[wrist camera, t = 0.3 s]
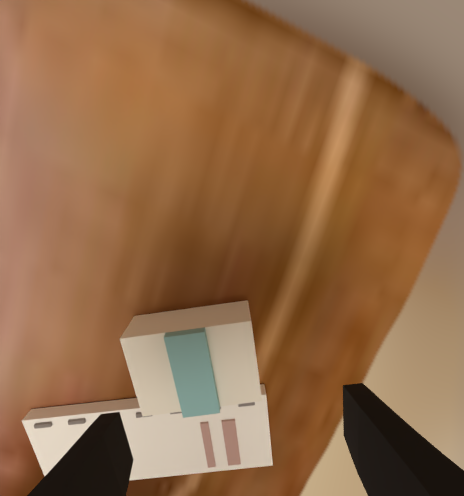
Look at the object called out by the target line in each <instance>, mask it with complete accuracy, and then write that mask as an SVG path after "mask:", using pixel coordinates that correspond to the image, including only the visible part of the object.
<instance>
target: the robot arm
mask: <svg viewBox="0 0 464 496" xmlns="http://www.w3.org/2000/svg"><path fill="white" fill-rule="evenodd" d="M343 418H344V437H345V440H346V443H347V445H348V448H349V451H350V454H351V457H352V459H353V462H354V464H355V467H356V469H357V472H358V475H359V477H360V479H361V481H362V483H363V486H364V488H365V490H366V492H367V494H368V496H464V470H462V469H461V468H460V467H458V466H457V465H456V464H455V463H453V462H452V461H451V460H450V459H449V458H447V457H446V456H445V455H444V454H442V453H441V452H440V451H439V450H438V449H437V448H435V447H434V446H433V445H432V444H430V443H429V442H428V441H427V440H426V439H425V438H424V437H422V436H421V435H420V434H419V433H417V432H416V431H415V430H414V429H413V428H412V427H411V426H410V425H408V424H407V423H406V422H405V421H404V420H403V419H402V418H400V417H399V416H398V415H397V414H396V413H395V412H394V411H393V410H392V409H390V408H389V407H388V406H387V405H386V404H385V403H384V402H383V401H382V400H380V399H379V398H378V397H377V396H376V395H375V394H374V393H373V392H372V391H371V390H370V389H368V388H367V387H366V386H365V385H364V384H363V383H359V384H351V385H343ZM133 460H134V459H133V456H132V453H131V449H130V446H129V442H128V439H127V436H126V432H125V429H124V426H123V422H122V419H121V415H120V412H114V413H105V414H100V415H99V417H98V418H97V419H96V420H95V421H94V422H93V423H92V424H91V425H90V426H89V428H88V429H87V430H86V431H85V432H84V433H83V434H82V436H81V437H80V438H79V439H78V440H77V441H76V442H75V443H74V445H73V446H72V447H71V448H70V449H69V450H68V451H67V453H66V454H65V455H64V456H63V457H62V458H61V459H60V460H59V461H58V463H57V464H56V465H55V466H54V467H53V468H52V469H51V470H50V471H49V473H48V474H47V475H46V476H45V477H44V478H43V479H42V480H41V481H40V483H39V484H38V485H37V486H36V487H35V488H34V489H33V490H32V491H31V492H30V493H29V494H28V495H27V496H126V492H127V488H128V484H129V479H130V474H131V469H132V465H133Z"/></svg>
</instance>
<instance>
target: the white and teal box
mask: <svg viewBox="0 0 464 496" xmlns="http://www.w3.org/2000/svg"><path fill="white" fill-rule="evenodd" d="M120 342H121V345H122V349H123V352H124V355H125V359H126V362H127V366H128V369H129V372H130V376H131V379H132V383H133V386H134V389H135V393H136V396H137V399H138V403H139V406H140V410H141V413H142V416H143V417H144V416H151V415H159V414H167V413H174V412H182V415H183V418H186V417H194V416H201V415H209V414H217V413H220V406H228V405H236V404H243V403H251V402H259V401H262V395H261V388H260V381H259V373H258V366H257V359H256V352H255V344H254V337H253V330H252V322H251V316H250V310H249V304H248V300H246V301H239V302H232V303H224V304H217V305H210V306H203V307H195V308H188V309H181V310H174V311H166V312H159V313H152V314H145V315H137V316H134V317H133V319H132V320H131V322H130V323H129V325H128V327H127V328H126V330H125V331H124V333H123V334H122V336H121V338H120Z"/></svg>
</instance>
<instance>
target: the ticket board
mask: <svg viewBox="0 0 464 496" xmlns="http://www.w3.org/2000/svg"><path fill="white" fill-rule="evenodd" d="M260 388H261V395H262V401H259V402H251V403H243V404H236V405H228V406H220V413H217V414H209V415H201V416H194V417H186V418H183V415H182V412H174V413H167V414H159V415H151V416H144V417H143V416H142V413H141V410H140V406H139V403H138V399H137V398H130V399H121V400H112V401H102V402H93V403H84V404H74V405H65V406H56V407H46V408H37V409H31V410H30V411H29V413H28V414H27V415H26V416H25V417H24V419H23V420H22V422H23V425H24V427H25V430H26V432H27V434H28V437H29V439H30V442H31V444H32V447H33V449H34V451H35V454H36V456H37V459H38V461H39V464H40V466H41V469H42V471H43V473H44V476H46V475H47V474H48V473H49V471H50V470H51V469H52V468H53V467H54V466H55V465H56V464H57V463H58V461H59V460H60V459H61V458H62V457H63V456H64V455H65V454H66V453H67V451H68V450H69V449H70V448H71V447H72V446H73V445H74V443H75V442H76V441H77V440H78V439H79V438H80V437H81V436H82V434H83V433H84V432H85V431H86V430H87V429H88V428H89V426H90V425H91V424H92V423H93V422H94V421H95V420H96V419H97V418H98V417H99V415H100V414H105V413H114V412H120V415H121V419H122V422H123V426H124V429H125V432H126V436H127V439H128V442H129V446H130V449H131V453H132V456H133V459H134V460H133V465H132V469H131V474H130V479H129V480H138V479H148V478H158V477H167V476H177V475H186V474H196V473H205V472H215V471H224V470H234V469H244V468H253V467H263V466H272V465H273V462H272V451H271V441H270V430H269V419H268V408H267V398H266V391H265V385H264V384H261V385H260Z"/></svg>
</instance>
